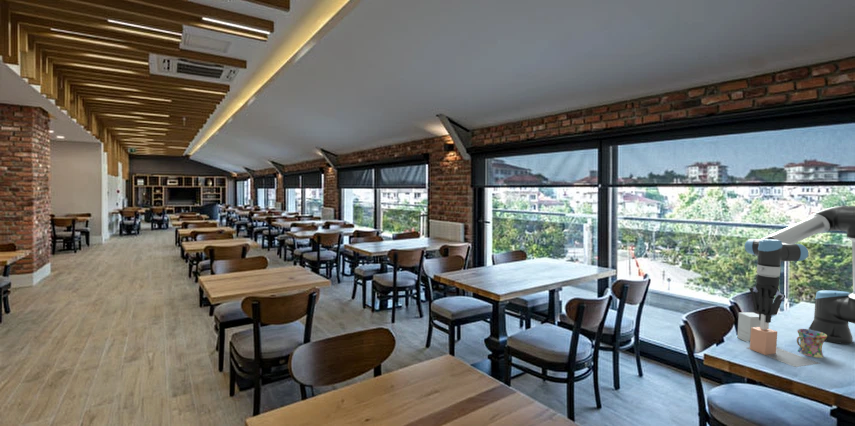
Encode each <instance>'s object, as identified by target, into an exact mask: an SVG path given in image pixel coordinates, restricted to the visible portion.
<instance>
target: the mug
mask: <svg viewBox="0 0 855 426" xmlns="http://www.w3.org/2000/svg"><path fill="white" fill-rule="evenodd" d="M796 332H797V333H798V336H797V338H796V343H797V345H798V349H797V352H798V353H799V354H801V355H805V356H807V357H812V358H824V354H823V345H824V342H825V339H826V338H827V335H826V334H824V333H822V332H818V331H814V330H809V328H808V329H807V328H798V329H796Z"/></svg>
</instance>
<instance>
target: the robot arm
mask: <svg viewBox="0 0 855 426" xmlns="http://www.w3.org/2000/svg"><path fill="white" fill-rule="evenodd" d="M831 231H832V232H835V231H836V232H837V231H839V232H846V237H847V238H848V239H849V240H851V248H852V250H851V252H852V254H851V255H852V256H851V257H852V258H851V259H852V262H851V263H852V292H849V291H843V290H841V291H840V290H829V289H826V290H825V289H823V290H822V289H821V290H818V291H816V293H815V298H814V299H815V300H814V314H813V315H814V317H813V321H812V322H811V324H810V325H809V327H808V329H809V330H814V331H818V332H822V333H824V334H826V335H827V338H826V339H825V341H826V342H830V343H835V344H843V345H845V344H852V343H853V339H854V338H853V334H852V332H851V329H850V325H849V323H852V324H854V325H855V206H854V205H853V206H852V205H851V206H850V205H839V206H838V205H837V206H833V207H828V208H825V209H822V210H819V211H816V212H814V213H812V214H809V215H808V216H807V217H806V219H804V220H802V221H798V222H797V223H794V224H792V225H789V226H788V227H785V228H783V229H780V230H778V231H776V232H773V233H771V234H768V235H767V236H764V237H762V238H749V239H747V240H746V241H745V243H744V250H745V252H746V253H747V254H749V255H754V256H757V263H756V264H757V265H756V278H755V282H756V284H755V286H754V287H749V291H750V293H751V298H752V303H753V310H754V311H756V312H758V315H759V320H760V329H762V330H767V329H770V328H769V325H770V323H771V322H772V316H777V314H778V312H779V310H780V307H781V304H782V301H783V300H784V299H785V298H786V295H785V294H782V293H781V292H780V289H779V285H780V276H781V264H782V262H795V263H796V262H801V261H802V262H803V261H804V260H807V258H808V256H809V250H808V248H807V247H806V246H805V245H803V244H801V243H798V242H800V241H804V240H805V239H807V238H810V237H811V236H814V235H815V236H816V234H825V233H827V232H831ZM825 341H824V342H825Z"/></svg>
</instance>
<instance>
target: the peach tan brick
mask: <svg viewBox="0 0 855 426" xmlns="http://www.w3.org/2000/svg"><path fill="white" fill-rule="evenodd" d="M777 341H778V331H776V330H773V329H771V328H768V329H767V330H762V329H760V327H753V328H751V338H750V341H749V347H750V349H751V350H750V349H749V350H750V351H753V350H754V351H753V352H755V351H756V353H758V352H759V353H758V354H760V353H761V354H760V355H763V354H764V356H765V355H768V354H775V353H776V347H777Z"/></svg>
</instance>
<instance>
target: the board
mask: <svg viewBox="0 0 855 426" xmlns="http://www.w3.org/2000/svg"><path fill="white" fill-rule="evenodd" d="M746 349H748V350H750V351H752V352H756V351H754V350H751V349H750V346H749V347H746ZM756 353H758V354H760V355H764V354H761V353H759V352H756ZM764 356H765V357H768V358H771V359H773V360H776V361H778V362H781V363H784V364H786V365H789V366H791V367H794V368H798V367H805V366H812V365H813V366H814V365H819V364H821V362H818V361H816V360H814V359H813V360H812V359H810V358H807V357H805V356H802V355H799V354H796V353H792V351H791V352H790V351H787V350H785V349H782V348H780V347H777V346H776V353H775V354H768V355H764Z"/></svg>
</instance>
